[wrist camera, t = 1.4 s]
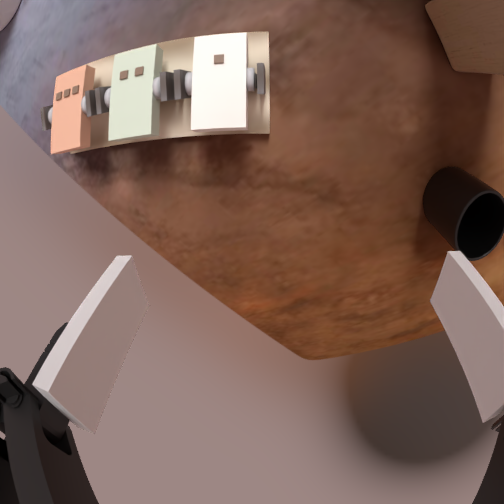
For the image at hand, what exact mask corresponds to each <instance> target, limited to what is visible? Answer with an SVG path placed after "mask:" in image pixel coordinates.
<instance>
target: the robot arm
mask: <svg viewBox="0 0 504 504" xmlns="http://www.w3.org/2000/svg"><path fill="white" fill-rule="evenodd" d="M430 302H431V304H432V306H433V308H434V310H435V311H436V313H437V315H438V317H439V319H440V321H441V323H442V325H443V327H444V329H445V331H446V333H447V335H448V337H449V339H450V341H451V343H452V345H453V347H454V349H455V352H456V354H457V356H458V358H459V361H460V363H461V365H462V367H463V370H464V372H465V375H466V377H467V380H468V382H469V385H470V387H471V390H472V392H473V395H474V398H475V401H476V403H477V406H478V409H479V412H480V415H481V418H482V421H483V422H485V421H487V420H490V419H491V418H494V417H496V416H497V415H498V414H499V413H500V412H501V411H503V409H504V307H503V305H502V304H501V302H500V301H499V299H498V298H497V297H496V295H495V294H494V292H493V291H492V290H491V288H490V287H489V286H488V284H487V283H486V282H485V280H484V279H483V278H482V277H481V275H480V274H479V273H478V272H477V270H476V269H475V268H474V267H473V265H472V264H471V263H470V262H469V261H468V259H467V258H466V257H465V256H464V255H463V253H462V252H461V251H448V252H447V255H446V258H445V262H444V265H443V267H442V270H441V273H440V276H439V279H438V282H437V284H436V287H435V289H434V292H433V295H432V297H431V300H430ZM148 308H149V303H148V300H147V298H146V295H145V292H144V290H143V287H142V284H141V281H140V278H139V275H138V273H137V269H136V266H135V263H134V260H133V257H132V256H117V257H116V258H115V259H114V260H113V262H112V263H111V264H110V266H109V267H108V268H107V270H106V271H105V272H104V273H103V275H102V276H101V278H100V279H99V280H98V282H97V283H96V284H95V286H94V287H93V289H92V290H91V291H90V293H89V294H88V295H87V297H86V298H85V300H84V301H83V302H82V304H81V305H80V307H79V308H78V310H77V311H76V313H75V314H74V316H73V317H72V319H71V320H70V322H69V323H65V324H64V325H63V326H62V327H60V328H59V329H58V330H57V331H56V333H55V334H54V336H53V337H52V339H51V340H50V344H48V345H47V347H46V348H45V352H43V354H42V355H41V357H40V358H39V360H38V362H37V363H36V365H35V367H34V369H33V370H32V372H31V374H30V376H29V378H28V379H27V381H26V382H25V384H23V383H22V382H21V381H20V380H19V379H18V378H17V376H16V375H15V374H14V373H13V372H12V371H11V370H10V369H9V368H6V367H5V368H0V431H1V432H3V433H4V434H5V435H6V437H5V439H4V440H3V439H2V438H0V504H99V503H98V501H97V499H96V497H95V495H94V492H93V490H92V488H91V486H90V483H89V481H88V478H87V476H86V473H85V470H84V468H83V465H82V462H81V459H80V456H79V454H78V451H77V447H76V444H75V441H74V438H73V434H72V431H71V429H70V427H69V426H68V423H69V420H70V421H71V422H72V423H74V424H75V425H76V426H77V427H79V428H81V429H83V430H86V431H88V432H91V433H94V434H95V432H96V430H97V427H98V424H99V421H100V418H101V416H102V413H103V411H104V408H105V406H106V403H107V401H108V398H109V396H110V393H111V391H112V388H113V386H114V383H115V381H116V379H117V376H118V374H119V372H120V369H121V367H122V365H123V362H124V360H125V357H126V355H127V353H128V350H129V349H130V347H131V344H132V342H133V340H134V338H135V336H136V333H137V331H138V329H139V327H140V325H141V323H142V321H143V318H144V316H145V314H146V312H147V310H148ZM500 423H501V425H500V426H499V427H498V428H497V429H496V431H497V432H499V434H498V438H497V441H496V445H495V448H494V451H493V454H492V457H491V460H490V463H489V466H488V468H487V471H486V474H485V476H484V479H483V481H482V484H481V486H480V488H479V491H478V493H477V495H476V497H475V499H474V501H473V503H472V504H504V415H503V416H502V417H501V418H499V420H497V421H496V422H495V423H494V424H493V426H492V428H491V429H492V430H493V429H494V428H495V427H497V426H498V425H499V424H500Z"/></svg>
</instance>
